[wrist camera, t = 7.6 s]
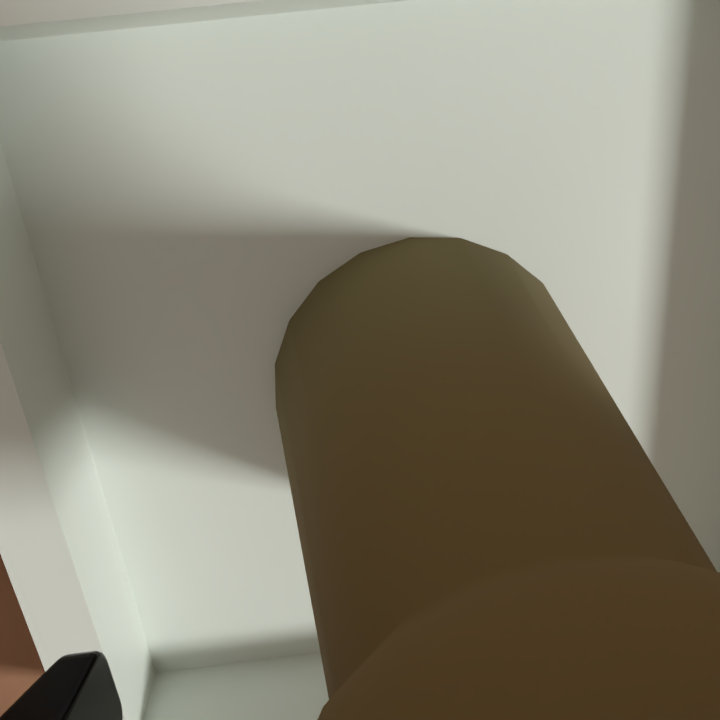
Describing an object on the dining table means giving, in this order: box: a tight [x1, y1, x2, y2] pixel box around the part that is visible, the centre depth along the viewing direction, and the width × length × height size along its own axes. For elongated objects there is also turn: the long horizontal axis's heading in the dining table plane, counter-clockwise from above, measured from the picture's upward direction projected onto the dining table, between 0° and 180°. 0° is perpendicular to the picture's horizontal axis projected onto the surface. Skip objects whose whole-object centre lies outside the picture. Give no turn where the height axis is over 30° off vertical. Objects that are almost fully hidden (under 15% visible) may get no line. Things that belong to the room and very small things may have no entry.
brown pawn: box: [275, 237, 720, 720], centre depth 8 cm, size 6×6×11 cm
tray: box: [0, 0, 720, 720], centre depth 13 cm, size 16×16×3 cm
